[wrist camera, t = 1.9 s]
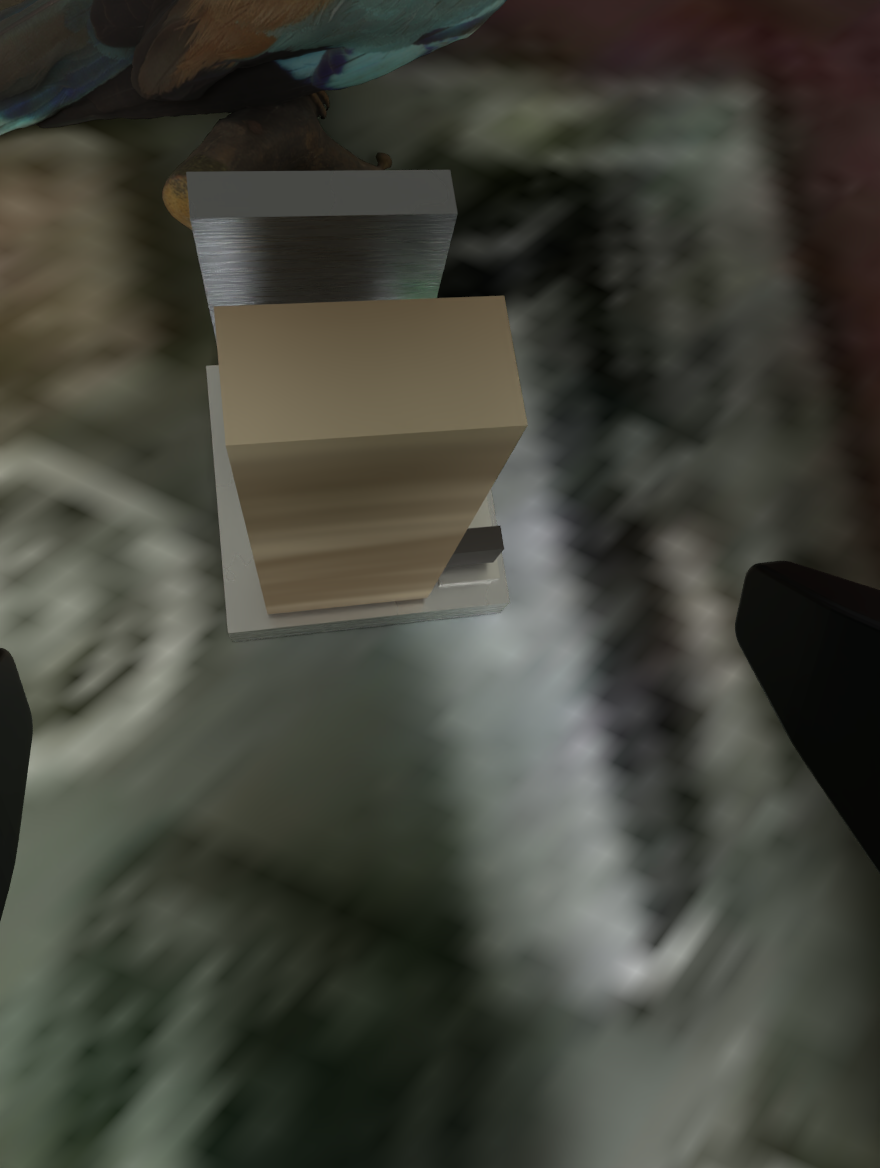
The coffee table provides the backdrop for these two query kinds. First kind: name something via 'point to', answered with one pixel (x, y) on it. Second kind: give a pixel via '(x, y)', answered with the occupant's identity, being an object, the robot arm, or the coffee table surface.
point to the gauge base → (312, 275)
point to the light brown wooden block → (366, 441)
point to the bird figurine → (217, 70)
